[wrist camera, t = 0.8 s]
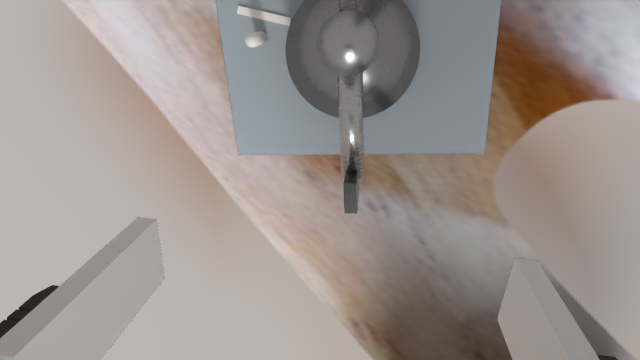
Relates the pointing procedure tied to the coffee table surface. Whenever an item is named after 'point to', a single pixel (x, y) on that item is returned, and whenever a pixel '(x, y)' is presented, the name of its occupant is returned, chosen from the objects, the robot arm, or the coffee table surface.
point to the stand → (381, 129)
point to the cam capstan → (352, 68)
